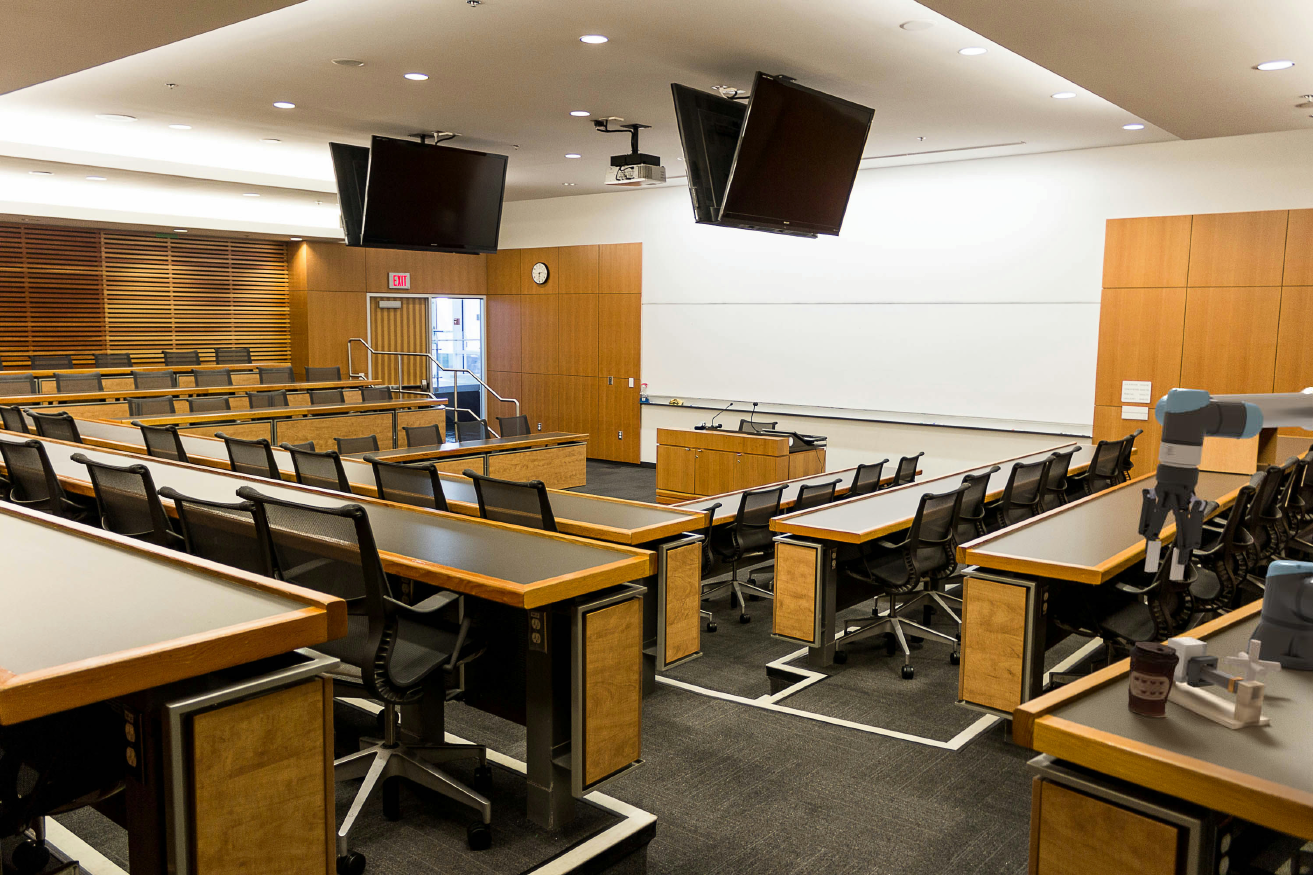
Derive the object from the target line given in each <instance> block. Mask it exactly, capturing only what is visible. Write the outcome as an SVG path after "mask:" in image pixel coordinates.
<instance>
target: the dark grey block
mask: <svg viewBox="0 0 1313 875" xmlns="http://www.w3.org/2000/svg"><path fill="white" fill-rule="evenodd" d="M1218 663H1219V657H1216V656H1213V655H1206V656H1199V657H1191V659H1190V666H1189V673H1188V680H1187V685H1189V686H1191V687H1194V688H1196V687H1197V688H1203V687H1212V686H1215V684H1213V683H1210V682H1208V681H1206V680H1203V679H1201V678H1199V675H1200V668H1201V665H1204V664H1205V665H1207V666H1209V667H1212V668H1214V669H1217V670H1218Z"/></svg>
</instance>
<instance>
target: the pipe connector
mask: <svg viewBox="0 0 1313 875" xmlns="http://www.w3.org/2000/svg"><path fill="white" fill-rule="evenodd" d="M1260 645H1261V642H1260V641H1258V640H1251V642H1250V648H1249V653H1248V654H1247V653H1246V652H1244V651H1241V652H1239V653H1238V654H1237V657H1236V656H1228V655H1226V656H1224V665H1225V666H1235V667H1242V668H1246V670H1245V675H1244V681H1247V682H1248V681H1256V677H1257V675H1258V676H1259V677H1261V678H1264V677H1266V676H1268V673H1269V672H1268V671H1273V672H1274V671H1275V672H1280V671H1281V670H1282V666H1281V664H1280V663H1278V662H1270V661H1262V660H1260V659H1258V658H1259V652H1260Z"/></svg>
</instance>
